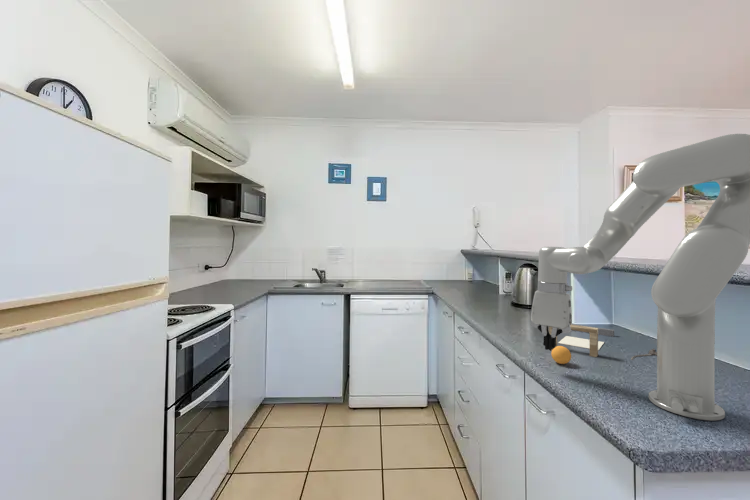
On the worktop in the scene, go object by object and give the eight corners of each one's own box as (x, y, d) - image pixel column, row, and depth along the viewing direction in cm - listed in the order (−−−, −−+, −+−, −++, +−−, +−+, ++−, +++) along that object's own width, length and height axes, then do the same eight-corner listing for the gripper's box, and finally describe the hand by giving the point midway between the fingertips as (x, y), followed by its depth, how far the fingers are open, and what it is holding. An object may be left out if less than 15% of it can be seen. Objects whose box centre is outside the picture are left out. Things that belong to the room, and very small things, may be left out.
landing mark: (598, 350, 114) (598, 349, 114) (557, 343, 123) (557, 342, 123) (604, 342, 124) (604, 342, 124) (566, 336, 132) (566, 335, 132)
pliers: (631, 360, 103) (629, 345, 119) (631, 362, 103) (629, 347, 119) (671, 366, 97) (664, 350, 113) (671, 369, 97) (664, 352, 113)
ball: (569, 368, 98) (568, 350, 97) (549, 363, 101) (549, 346, 101) (573, 363, 102) (573, 346, 101) (553, 359, 105) (553, 342, 105)
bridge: (596, 357, 107) (596, 330, 107) (549, 348, 117) (549, 323, 117) (598, 355, 109) (598, 328, 109) (551, 346, 119) (551, 321, 119)
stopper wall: (613, 336, 132) (613, 330, 132) (569, 330, 143) (569, 324, 143) (614, 335, 133) (614, 329, 133) (570, 329, 144) (570, 323, 144)
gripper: (583, 290, 92) (581, 352, 93) (529, 284, 102) (527, 340, 103) (578, 292, 87) (575, 359, 87) (521, 286, 97) (519, 345, 98)
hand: (549, 348), depth 95 cm, fingers closed
